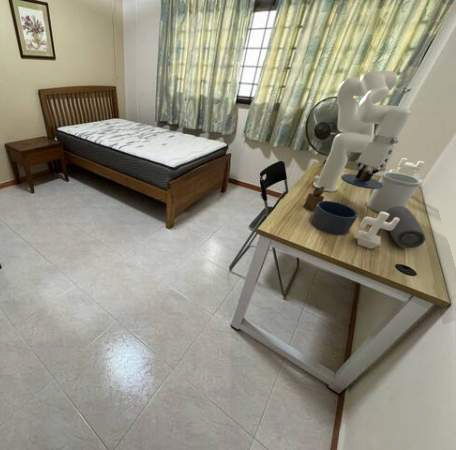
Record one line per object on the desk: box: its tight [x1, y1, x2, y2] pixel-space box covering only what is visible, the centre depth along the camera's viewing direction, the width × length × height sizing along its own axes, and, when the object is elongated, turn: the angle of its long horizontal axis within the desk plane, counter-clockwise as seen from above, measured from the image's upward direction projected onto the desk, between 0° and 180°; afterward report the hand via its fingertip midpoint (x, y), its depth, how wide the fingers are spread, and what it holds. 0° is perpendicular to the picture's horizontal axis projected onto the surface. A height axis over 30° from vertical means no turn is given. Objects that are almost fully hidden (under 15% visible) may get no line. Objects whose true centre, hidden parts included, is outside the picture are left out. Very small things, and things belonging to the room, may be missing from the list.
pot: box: [309, 200, 359, 236], centre depth 108 cm, size 15×15×8 cm
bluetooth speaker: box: [385, 206, 426, 249], centre depth 102 cm, size 23×9×10 cm, turn 150°
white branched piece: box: [388, 157, 425, 179], centre depth 138 cm, size 19×14×20 cm
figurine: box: [357, 212, 400, 249], centre depth 95 cm, size 7×9×15 cm
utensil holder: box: [366, 171, 423, 213], centre depth 120 cm, size 15×15×18 cm
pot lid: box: [340, 168, 383, 190], centre depth 113 cm, size 16×16×6 cm
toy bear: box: [303, 187, 325, 212], centre depth 120 cm, size 5×5×12 cm
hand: (362, 179), depth 114 cm, fingers closed on pot lid, 3 cm apart
